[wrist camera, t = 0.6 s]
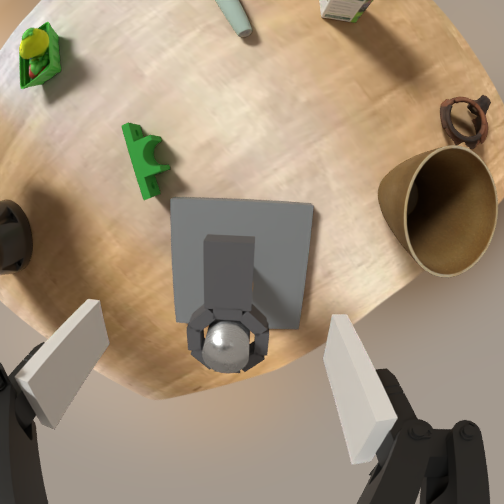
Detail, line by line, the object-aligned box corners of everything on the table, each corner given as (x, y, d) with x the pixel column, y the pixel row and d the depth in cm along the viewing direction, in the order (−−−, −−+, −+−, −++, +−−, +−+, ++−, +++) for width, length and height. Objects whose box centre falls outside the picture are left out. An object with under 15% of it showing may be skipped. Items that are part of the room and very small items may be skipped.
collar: (193, 356, 29) (190, 368, 27) (187, 233, 24) (182, 239, 22) (264, 361, 29) (265, 374, 27) (275, 237, 24) (277, 244, 22)
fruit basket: (34, 48, 31) (-2, 36, 21) (68, 24, 31) (33, 5, 20) (37, 93, 35) (-4, 87, 24) (72, 69, 34) (32, 56, 23)
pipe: (223, 282, 43) (201, 372, 24) (223, 254, 42) (198, 333, 23) (252, 283, 43) (249, 376, 24) (254, 255, 42) (252, 337, 23)
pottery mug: (465, 162, 39) (474, 159, 32) (427, 127, 41) (429, 117, 34) (496, 117, 32) (508, 107, 26) (458, 83, 35) (463, 67, 28)
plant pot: (446, 203, 41) (509, 227, 25) (385, 256, 44) (435, 301, 29) (405, 128, 37) (469, 121, 22) (336, 181, 40) (379, 197, 25)
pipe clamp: (176, 187, 41) (168, 192, 37) (154, 195, 41) (143, 200, 37) (155, 118, 38) (144, 115, 33) (133, 127, 38) (120, 125, 34)
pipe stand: (178, 316, 48) (176, 322, 46) (174, 197, 41) (170, 199, 39) (296, 322, 48) (298, 329, 46) (310, 203, 41) (313, 205, 39)
